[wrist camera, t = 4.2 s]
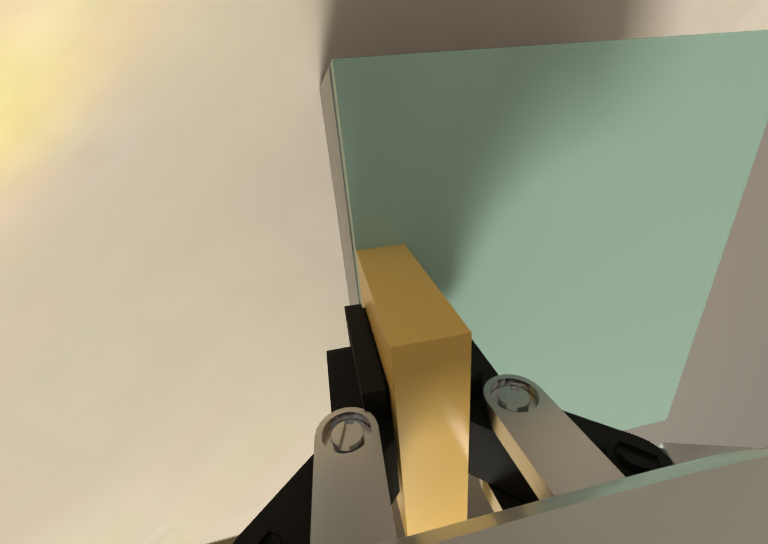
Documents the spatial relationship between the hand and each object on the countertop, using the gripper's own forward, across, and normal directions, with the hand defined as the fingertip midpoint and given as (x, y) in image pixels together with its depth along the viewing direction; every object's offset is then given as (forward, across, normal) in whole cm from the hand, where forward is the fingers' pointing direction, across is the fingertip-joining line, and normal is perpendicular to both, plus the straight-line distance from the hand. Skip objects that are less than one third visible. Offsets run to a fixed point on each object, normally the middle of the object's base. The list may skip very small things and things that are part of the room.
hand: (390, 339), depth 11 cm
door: (+3, -6, 0) cm, 7 cm away
